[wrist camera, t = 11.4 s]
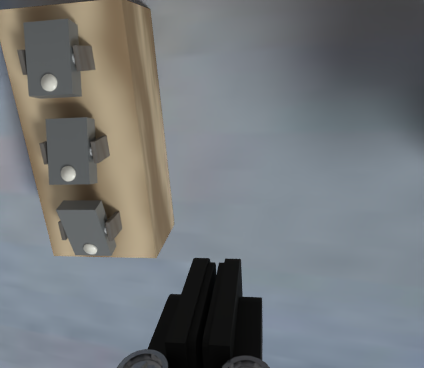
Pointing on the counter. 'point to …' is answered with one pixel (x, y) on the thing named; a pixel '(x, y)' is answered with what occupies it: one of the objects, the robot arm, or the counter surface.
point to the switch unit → (101, 121)
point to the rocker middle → (71, 151)
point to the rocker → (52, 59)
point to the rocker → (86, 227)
